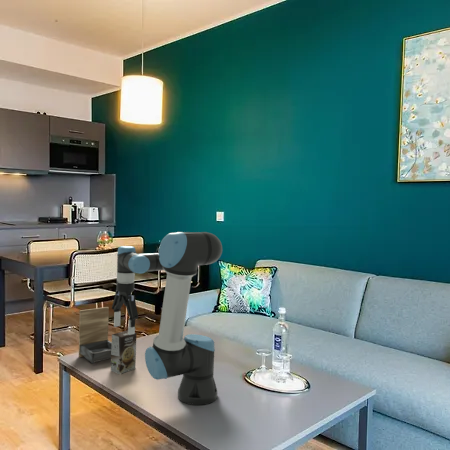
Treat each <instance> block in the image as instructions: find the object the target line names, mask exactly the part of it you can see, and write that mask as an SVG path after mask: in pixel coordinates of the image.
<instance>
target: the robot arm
mask: <svg viewBox="0 0 450 450" xmlns="http://www.w3.org/2000/svg"><path fill="white" fill-rule="evenodd" d="M222 254H223V245H222V242H221V240H220V239H219V238H218V236H216V235H215V234H213V233H211V232H207V231H201V232H199V231H198V232H197V231H196V232H194V231H193V232H190V231H186V232H185V231H184V232H183V231H177V232H169V233H168V234H166V235H165V236H164V237H163V238H162V239H161V242H160V245H159V247H158V252H153V253H151V252H150V253H137V251H136V247H135V246H131V245H121V246H119V247H118V248H117V254H116V256H117V261H116V290H115V293H114V299H113V302H112V305H111V309H112V310H113V312H114V314H113V315H114V317H113V327H114V328H116V327H120V326H121V314H122V313H121V311H122V309H121V308H122V307H123V305H124V306H125V308H126V312H127V314H128V319H127V320H128V324H127V325H128V326H127V330H128V335H132V334H135V333H136V332H135V331H136V320H138V319H139V313H138V307H137V302H136V295H134V294H133V295H132V293H133V292H134V291H135V276H136V274H144V273H146V272H155V271H156V272H157V271H158V272H159V271H164V272H165V273H166V281H165V287H164V288H165V289H164V294H163V300H162V301H163V302H162V308H161V316H160V321H159V323H160V324H159V331H158V335H156V336H155V337H154V338H153V343H152V346H149V347H147V348H146V350H145V352H144V361H145V365H146V368H147V371H148V373H149V375H150V376H151V378H153V379H155V380H157V381H158V380H167V379H169V378H173V377H176V376H181V375H182V377H181V381H180V384H179V387H178V389H177V399H179V401H180V402H182V403H183V404H188V405H192V406H203V405H208V404H211V403H213V402H215V401H216V400H217V399H218V388H217V385H216V382H215V377H214V368H215V352H216V347H215V342H214V341H215V340H213V338H211V337H209V336H206V335H202V334H194V333H193V334H192V333H191V334H190V333H189V334H186V335H185V336H184V332H185V331H184V330H185V329H184V328H185V324H186V316H187V310H188V304H189V296H190V291H191V284H192V278H193V277H195V276H196V275H197V272H198V266H205V265H206V266H208V265H211V264H214V263H216V262H217V261H218V260H219V259H220V258H221V256H222ZM183 337H184V338H183Z"/></svg>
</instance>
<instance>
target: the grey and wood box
mask: <svg viewBox="0 0 450 450" xmlns="http://www.w3.org/2000/svg"><path fill="white" fill-rule="evenodd" d="M109 309H110V308H109V306H104V307H97V308H89V309H82V310H81V309H80V310H79V319H78V320H79V321H78V323H79V324H78V329H79V330H78V358H85V359H86V360H87V361H88V362H90V363H91V364H95V362H99V361H104V360H109V359H110V360H111V346H112V341H110V340H109V316H110V315H109V313H110V311H109Z"/></svg>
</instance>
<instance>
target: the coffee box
mask: <svg viewBox="0 0 450 450" xmlns="http://www.w3.org/2000/svg"><path fill="white" fill-rule="evenodd" d="M111 342H112V346H111V359H110V371H111V372H113V373H116V374H117V375H121V374H124V373H127V372H130V371H133V370H134V369H136V366H137V365H136V360H137V358H136V357H137V356H136V355H137V332H135V334H132V335H128V329H127V330H124V331H120V332H117V333H112V334H111Z"/></svg>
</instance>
